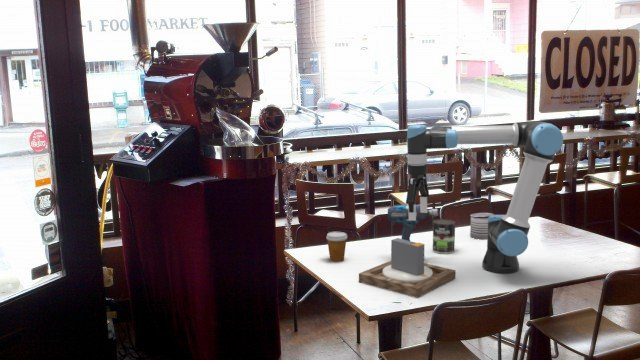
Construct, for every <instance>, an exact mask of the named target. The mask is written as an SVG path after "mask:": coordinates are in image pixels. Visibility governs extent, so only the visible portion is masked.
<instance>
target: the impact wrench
mask: <svg viewBox="0 0 640 360" xmlns="http://www.w3.org/2000/svg"><path fill="white" fill-rule="evenodd" d="M439 212H440V211H439V209H438V208H432V209H427V213H420V204H416V220H415V221H414V220H409V210H408V204H406V205H394V206H392V205H391V206H390V207H388V208H387V218H388V221H389V222H390V224H392V225H402V231H401V239H404V240H408V241H411V239H410V238H411V236H412V232H413V230H415V229H416V228H417V227H416V225H417V224H418V223H420V222H421V221H423V220H426V219H428V217H435V218H437V216H439V215H440V213H439Z"/></svg>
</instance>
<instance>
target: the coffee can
mask: <svg viewBox="0 0 640 360" xmlns="http://www.w3.org/2000/svg"><path fill="white" fill-rule="evenodd" d="M432 225H433V226H432V227H433V228H432V252H433V253H436V254H441V255H442V254H443V255H448V254H449V255H450V254H454V253H455V248H456V247H455V246H456V245H455V241H456V239H455V238H456V221H454V220H452V219H446V218H445V219H443V218H441V219H434V220H433V221H432Z"/></svg>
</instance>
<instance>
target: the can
mask: <svg viewBox="0 0 640 360" xmlns="http://www.w3.org/2000/svg"><path fill="white" fill-rule="evenodd" d="M491 215H495V213H490V212H476V213H471V214H469V216H470V230H469V231H470V232H469V234H470V235H469V237H470V238H471V239H473V238H474V239H473V240H478V239H479V241H480V240H481V241H487V234H488V223H487V222H488V218H489V216H491Z"/></svg>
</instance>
